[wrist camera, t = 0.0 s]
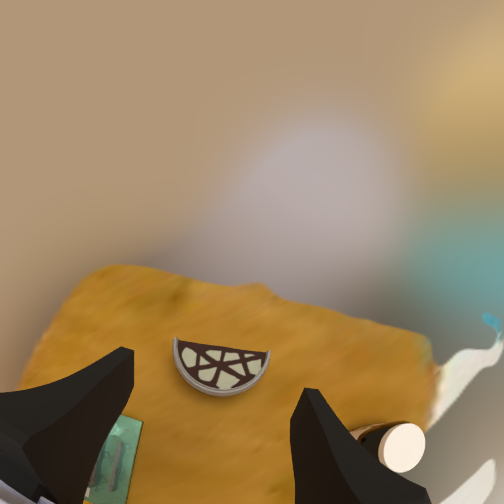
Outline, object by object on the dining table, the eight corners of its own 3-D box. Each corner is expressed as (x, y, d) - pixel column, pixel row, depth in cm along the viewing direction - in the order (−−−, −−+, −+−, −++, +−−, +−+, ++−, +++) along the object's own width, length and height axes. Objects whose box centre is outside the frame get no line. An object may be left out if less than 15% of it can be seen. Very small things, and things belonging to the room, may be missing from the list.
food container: (172, 393, 39) (162, 385, 31) (178, 354, 42) (171, 335, 34) (256, 405, 40) (270, 400, 32) (259, 366, 43) (273, 350, 35)
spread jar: (386, 419, 40) (430, 411, 30) (392, 478, 34) (437, 483, 24) (320, 434, 38) (355, 434, 29) (326, 499, 32) (361, 515, 23)
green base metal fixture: (72, 394, 36) (56, 389, 31) (143, 421, 36) (134, 421, 31) (53, 481, 27) (36, 485, 22) (124, 513, 27) (114, 523, 22)
